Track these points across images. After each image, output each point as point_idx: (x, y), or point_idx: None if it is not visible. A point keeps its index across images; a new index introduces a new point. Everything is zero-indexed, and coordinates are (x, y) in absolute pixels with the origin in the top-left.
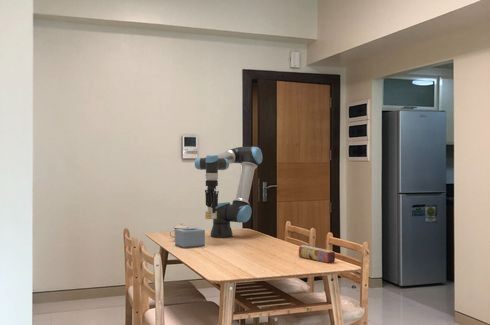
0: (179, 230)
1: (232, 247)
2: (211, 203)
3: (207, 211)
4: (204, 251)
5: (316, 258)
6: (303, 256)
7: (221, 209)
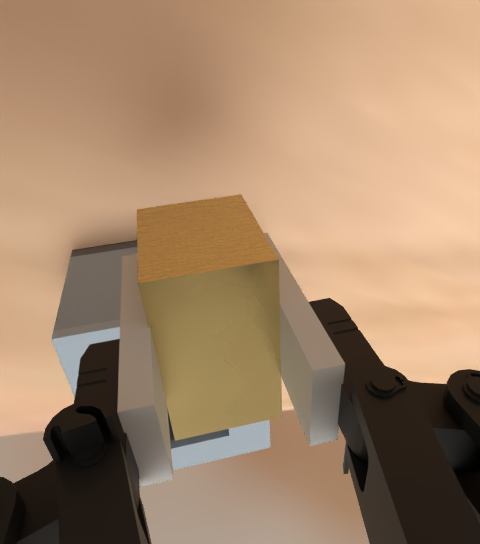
0: (193, 464)
1: (382, 22)
2: (134, 521)
3: (203, 415)
4: (389, 277)
5: None
6: None
7: None
